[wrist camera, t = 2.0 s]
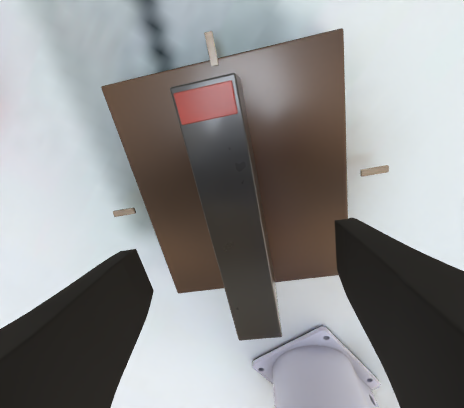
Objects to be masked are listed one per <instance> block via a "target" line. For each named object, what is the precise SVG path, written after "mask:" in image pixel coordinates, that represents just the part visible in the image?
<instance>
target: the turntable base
mask: <svg viewBox="0 0 464 408" xmlns="http://www.w3.org/2000/svg"><path fill="white" fill-rule="evenodd" d="M204 34H205V39H206V43H207V48H208V53H209V58H210V60H209V61H205V62H201V63H196V64H192V65H188V66H184V67H180V68H176V69H172V70H167V71H163V72H159V73H155V74H151V75H147V76H143V77H138V78H134V79H130V80H126V81H122V82H118V83H114V84H109V85H105V86H102V87H101V88H102V91H103V93H104V96H105V99H106V102H107V104H108V107H109V110H110V112H111V115H112V118H113V120H114V123H115V126H116V128H117V131H118V134H119V136H120V139H121V142H122V144H123V147H124V150H125V152H126V155H127V158H128V161H129V163H130V166H131V169H132V171H133V174H134V177H135V179H136V182H137V185H138V187H139V190H140V193H141V195H142V198H143V201H144V203H145V206H146V209H147V211H148V214H149V217H150V220H151V222H152V225H153V228H154V230H155V233H156V236H157V238H158V241H159V244H160V246H161V249H162V252H163V254H164V257H165V260H166V262H167V265H168V268H169V270H170V273H171V276H172V279H173V281H174V284H175V287H176V289H177V292H178V293H186V292H194V291H203V290H212V289H220V288H224V284H223V281H222V277H221V273H220V270H219V266H218V262H217V259H216V255H215V252H214V248H213V244H212V241H211V237H210V233H209V230H208V226H207V223H206V219H205V215H204V212H203V208H202V204H201V201H200V197H199V193H198V190H197V186H196V183H195V179H194V175H193V172H192V168H191V164H190V161H189V157H188V154H187V150H186V146H185V143H184V139H183V135H182V132H181V128H180V125H179V121H178V117H177V114H176V110H175V106H174V103H173V99H172V95H171V92H170V88H171V87H174V86H178V85H183V84H187V83H191V82H196V81H200V80H204V79H209V78H213V77H217V76H222V75H226V74H230V73H235V74H237V75H238V76H239V77H240V78H241V84H242V89H243V95H244V101H245V107H246V113H247V119H248V124H249V130H250V136H251V142H252V148H253V154H254V160H255V165H256V171H257V177H258V183H259V189H260V195H261V200H262V206H263V212H264V218H265V224H266V230H267V235H268V241H269V247H270V253H271V259H272V265H273V271H274V278H275V282H281V281H290V280H299V279H307V278H316V277H325V276H333V275H339V274H338V271H337V262H336V241H335V220H342V219H348V202H347V161H346V120H345V79H344V38H343V29H337V30H333V31H329V32H325V33H321V34H317V35H313V36H308V37H304V38H300V39H296V40H292V41H288V42H284V43H279V44H275V45H271V46H267V47H263V48H259V49H255V50H250V51H246V52H242V53H238V54H234V55H230V56H226V57H221V58H217V53H216V48H215V43H214V38H213V33H212V31H210V32H206V33H204ZM386 172H389V166H388V165H385V166H379V167H373V168H367V169H362V170H361V176H368V175H374V174H380V173H386ZM135 213H136V211H135V208H128V209H122V210H116V211H113V214H114V217H117V216H123V215H129V214H135Z"/></svg>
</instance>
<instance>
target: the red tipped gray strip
mask: <svg viewBox="0 0 464 408" xmlns="http://www.w3.org/2000/svg"><path fill="white" fill-rule="evenodd" d="M170 92H171V95H172V99H173V103H174V106H175V110H176V114H177V117H178V121H179V125H180V128H181V132H182V135H183V139H184V143H185V146H186V150H187V154H188V157H189V161H190V164H191V168H192V172H193V175H194V179H195V183H196V186H197V190H198V193H199V197H200V201H201V204H202V208H203V212H204V215H205V219H206V223H207V226H208V230H209V233H210V237H211V241H212V244H213V248H214V252H215V255H216V259H217V262H218V266H219V270H220V273H221V277H222V281H223V284H224V288H225V291H226V295H227V299H228V302H229V306H230V310H231V313H232V317H233V321H234V324H235V328H236V331H237V335H238V339H239V340H251V339H263V338H274V337H282V332H281V324H280V316H279V309H278V301H277V293H276V286H275V278H274V271H273V265H272V259H271V253H270V247H269V241H268V235H267V230H266V224H265V218H264V212H263V206H262V200H261V195H260V189H259V183H258V177H257V171H256V165H255V160H254V154H253V148H252V142H251V136H250V130H249V124H248V119H247V113H246V107H245V101H244V95H243V89H242V84H241V78H240V77H239V76H238V75H237V74H235V73H230V74H226V75H222V76H217V77H213V78H209V79H204V80H200V81H196V82H191V83H187V84H183V85H178V86H174V87H171V88H170Z"/></svg>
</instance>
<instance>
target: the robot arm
mask: <svg viewBox="0 0 464 408" xmlns="http://www.w3.org/2000/svg"><path fill="white" fill-rule="evenodd" d="M335 241H336V262H337V271H338V274H339V277H340V279H341V282H342V285H343V287H344V290H345V293H346V295H347V297H348V299H349V301H350V303H351V305H352V307H353V309H354V311H355V313H356V315H357V317H358V319H359V321H360V323H361V325H362V327H363V329H364V330H365V332H366V334H367V336H368V338H369V340H370V342H371V344H372V346H373V348H374V350H375V352H376V354H377V356H378V357H379V359H380V361H381V363H382V365H383V368H384V370H385V372H386V374H387V376H388V378H389V381H390V383H391V385H392V388H393V390H394V393H395V395H396V398H397V400H398V402H399V405H400V407H401V408H464V271H462V270H460V269H457V268H455V267H452V266H450V265H448V264H445V263H443V262H441V261H439V260H437V259H434V258H432V257H430V256H428V255H426V254H423V253H421V252H419V251H417V250H415V249H413V248H411V247H409V246H407V245H405V244H403V243H401V242H399V241H397V240H395V239H393V238H391V237H389V236H388V235H386V234H384V233H382V232H380V231H378V230H376V229H374V228H373V227H371V226H369V225H367V224H365V223H363V222H361V221H359V220H357V219H355V218H349V219H342V220H335ZM152 295H153V288H152V286H151V283H150V281H149V279H148V276H147V274H146V272H145V269H144V267H143V265H142V262H141V260H140V257H139V255H138V253H137V250H136V249H133V250H126V251H120V252H119V253H117V254H115V255H113V256H112V257H110V258H108V259H107V260H105V261H104V262H102V263H101V264H99V265H98V266H96V267H95V268H94V269H92V270H91V271H89V272H88V273H86V274H85V275H83V276H82V277H81V278H79V279H78V280H76V281H75V282H73V283H72V284H70V285H69V286H68V287H66V288H65V289H63V290H62V291H60V292H59V293H57V294H56V295H54V296H53V297H51V298H50V299H48V300H46V301H45V302H43V303H42V304H40V305H39V306H37V307H36V308H34V309H33V310H31V311H30V312H28V313H26V314H25V315H23V316H22V317H20V318H18V319H17V320H15V321H13V322H12V323H10V324H8V325H7V326H5V327H3V328H1V329H0V408H110V407H111V404H112V401H113V398H114V395H115V392H116V390H117V387H118V384H119V382H120V379H121V377H122V375H123V372H124V370H125V367H126V365H127V363H128V360H129V358H130V356H131V353H132V351H133V349H134V346H135V344H136V342H137V339H138V337H139V334H140V332H141V330H142V327H143V325H144V322H145V320H146V317H147V314H148V311H149V307H150V303H151V299H152ZM252 367H253V368H254V369H255V370H256V371H257V372H259V373H260V374H261V375H262V376H264V377H265V378H266V379H267V380H268V381H270V382H271V383H272V384H273V389H274V402H275V408H379V407H378V405H377V402H376V400H375V397H374V395H373V392H372V390H374V389H377V388H379V387H380V385H381V384H380V382H379V380H378V379H377V378H376V377H375V376H374V375H373V374H372V373H371V372H370V371H369V370H368V369H367V368H366V367H365V366H364V365H363V364H362V363H361V362H360V361H359V360H358V359H357V358H356V357H355V356H354V355H353V354H352V353H351V352H350V351H349V350H348V349H347V348H346V347H345V346H344V345H343V344H342V343H341V342H340V341H339V340H338V339H337V338H336V337H335V336H334V335H333V334H332V333H331V332H330V331H329V330H328V329H327V328H326V327H319V328H317V329H315V330H313V331H311V332H309V333H307V334H305V335H303V336H301V337H299V338H297V339H295V340H293V341H291V342H289V343H287V344H285V345H283V346H281V347H279V348H277V349H275V350H273V351H271V352H269V353H267V354H265V355H263V356H261V357H259V358H257V359H255V360H254V361H253V362H252Z"/></svg>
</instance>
